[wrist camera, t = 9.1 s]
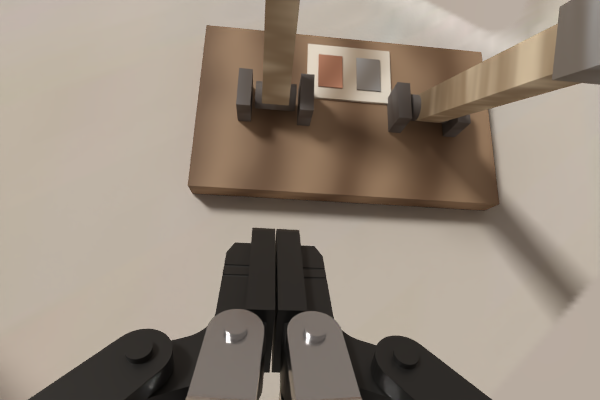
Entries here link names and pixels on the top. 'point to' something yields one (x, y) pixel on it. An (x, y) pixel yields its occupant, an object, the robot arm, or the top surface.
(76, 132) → the top surface
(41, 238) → the top surface
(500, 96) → the slate lever
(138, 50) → the top surface
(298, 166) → the switch board
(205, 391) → the robot arm
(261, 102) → the terracotta lever
